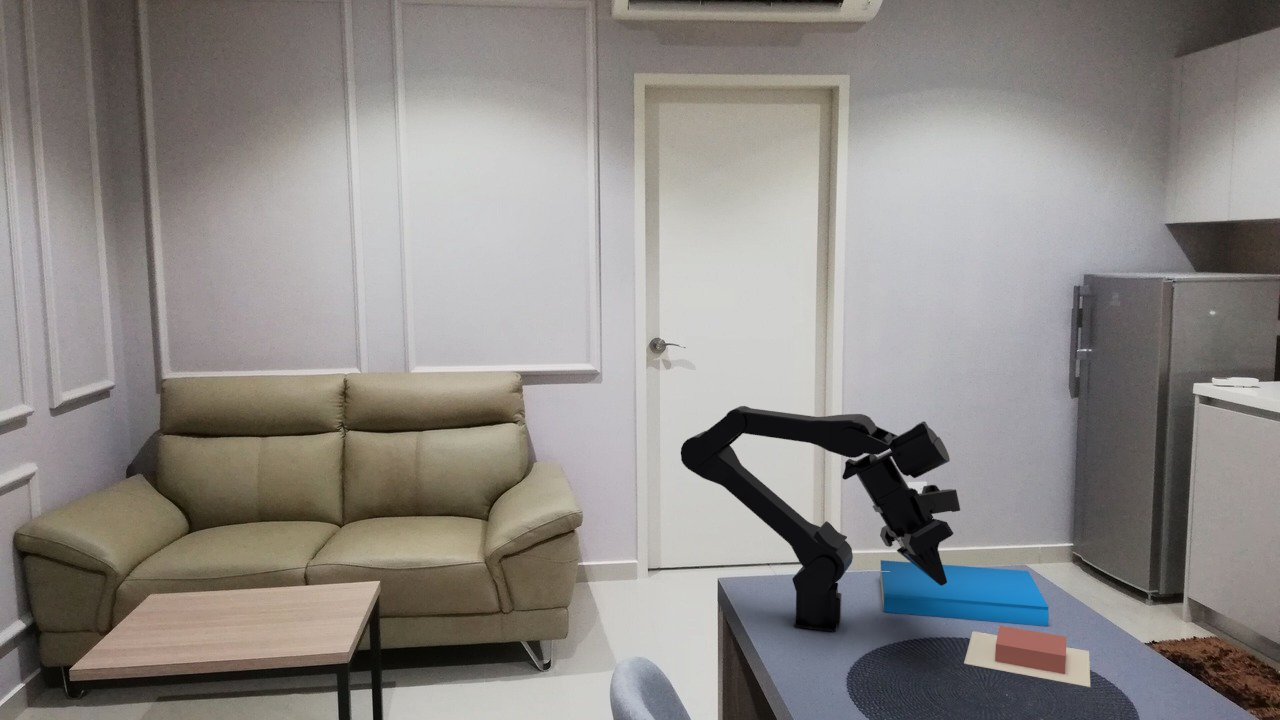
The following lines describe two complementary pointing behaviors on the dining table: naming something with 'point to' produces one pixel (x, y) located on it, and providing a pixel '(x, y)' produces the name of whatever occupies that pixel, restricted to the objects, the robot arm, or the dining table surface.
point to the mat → (984, 656)
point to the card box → (1031, 649)
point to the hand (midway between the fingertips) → (943, 584)
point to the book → (963, 594)
